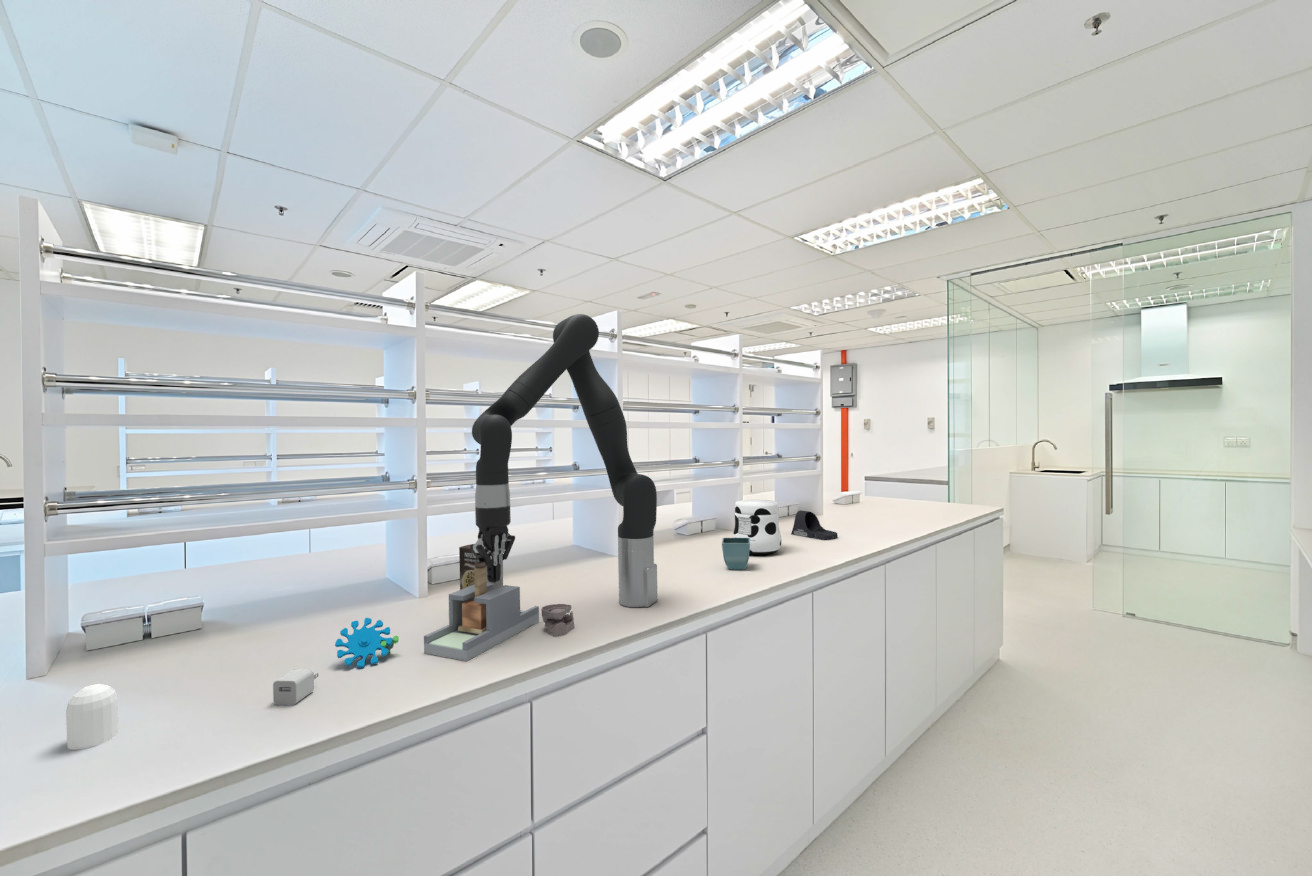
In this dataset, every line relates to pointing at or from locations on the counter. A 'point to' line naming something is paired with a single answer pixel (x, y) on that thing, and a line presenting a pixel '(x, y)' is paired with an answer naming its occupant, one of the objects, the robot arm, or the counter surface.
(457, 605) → the tunnel
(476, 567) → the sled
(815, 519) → the sight
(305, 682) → the usb wall charger
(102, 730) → the white domed cylinder
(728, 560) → the flower pot
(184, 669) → the counter surface
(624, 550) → the robot arm
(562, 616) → the dental mold
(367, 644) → the gear
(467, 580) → the coffee box
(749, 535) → the milk container
